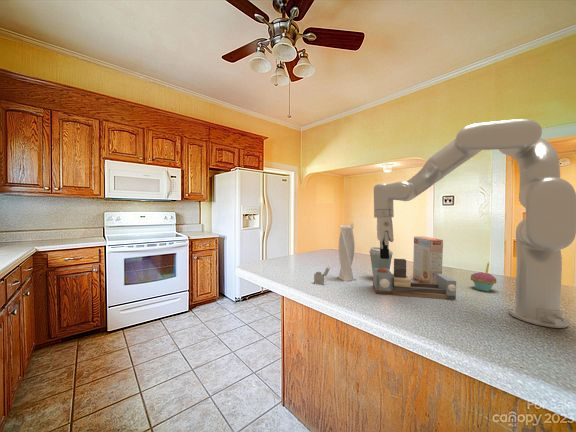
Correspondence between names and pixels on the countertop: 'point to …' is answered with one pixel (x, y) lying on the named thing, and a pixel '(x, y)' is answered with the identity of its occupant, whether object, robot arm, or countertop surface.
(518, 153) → the robot arm
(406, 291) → the track
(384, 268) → the button
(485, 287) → the cupcake
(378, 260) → the disposable coffee cup
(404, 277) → the carriage
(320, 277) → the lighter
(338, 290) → the countertop surface
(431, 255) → the cracker box
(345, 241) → the skyscraper
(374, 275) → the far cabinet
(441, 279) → the grey rectangular block
